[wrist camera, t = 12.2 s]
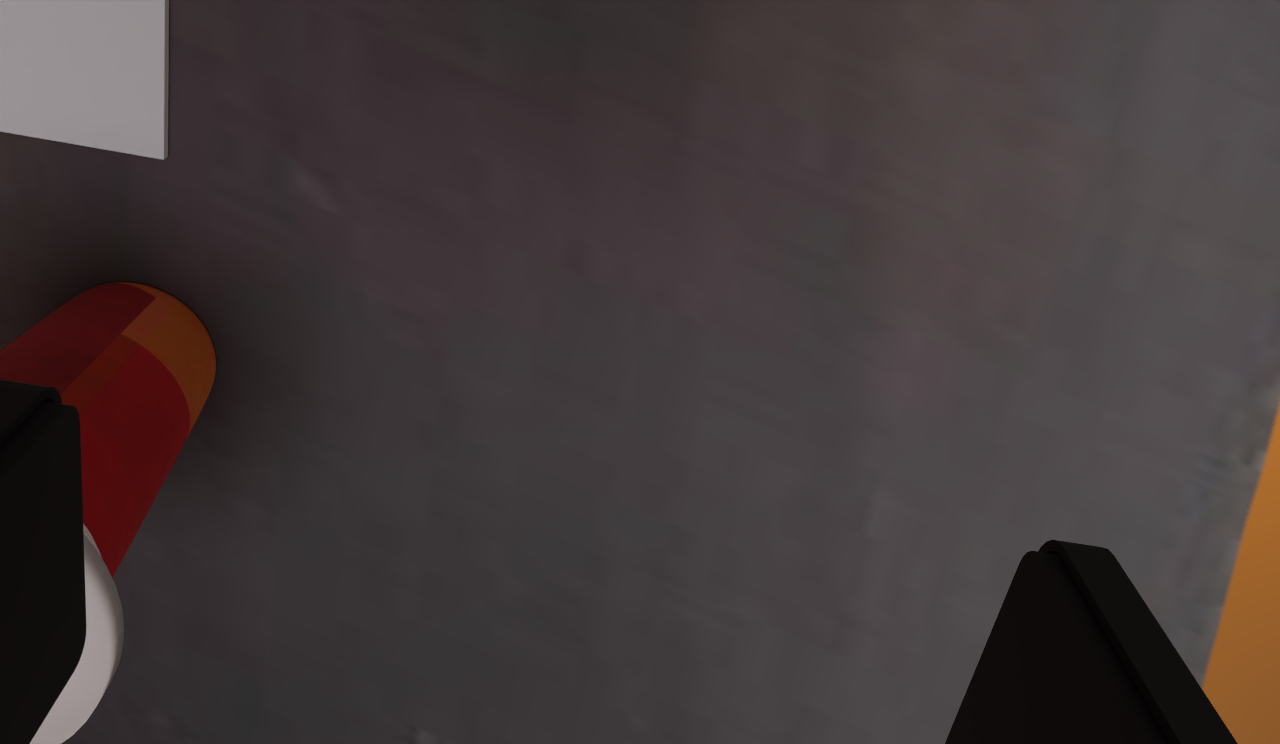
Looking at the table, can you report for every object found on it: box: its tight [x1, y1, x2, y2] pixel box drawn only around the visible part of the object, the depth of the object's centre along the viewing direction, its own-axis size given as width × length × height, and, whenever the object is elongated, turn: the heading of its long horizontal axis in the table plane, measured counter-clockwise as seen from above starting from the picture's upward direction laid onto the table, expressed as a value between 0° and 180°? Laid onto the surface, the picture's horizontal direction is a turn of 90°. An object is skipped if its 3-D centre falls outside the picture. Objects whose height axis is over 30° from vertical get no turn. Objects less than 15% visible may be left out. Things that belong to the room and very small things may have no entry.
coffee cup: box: [0, 282, 216, 578], centre depth 37 cm, size 8×8×15 cm
